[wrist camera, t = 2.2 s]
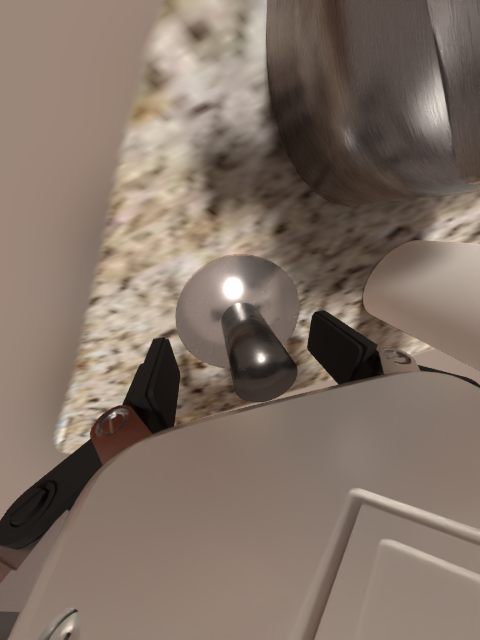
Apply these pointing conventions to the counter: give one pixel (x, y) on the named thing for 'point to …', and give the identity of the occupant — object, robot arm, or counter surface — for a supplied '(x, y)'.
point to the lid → (242, 323)
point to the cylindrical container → (431, 295)
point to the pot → (378, 96)
